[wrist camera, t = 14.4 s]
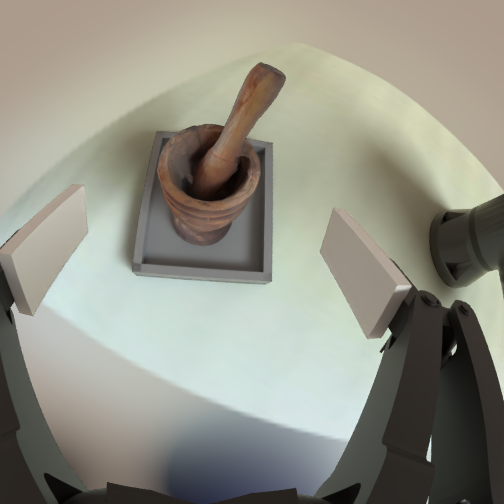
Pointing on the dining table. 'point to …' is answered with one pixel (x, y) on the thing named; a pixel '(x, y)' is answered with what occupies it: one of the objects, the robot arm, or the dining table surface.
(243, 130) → the mortar and pestle
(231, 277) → the tray
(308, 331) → the dining table surface
